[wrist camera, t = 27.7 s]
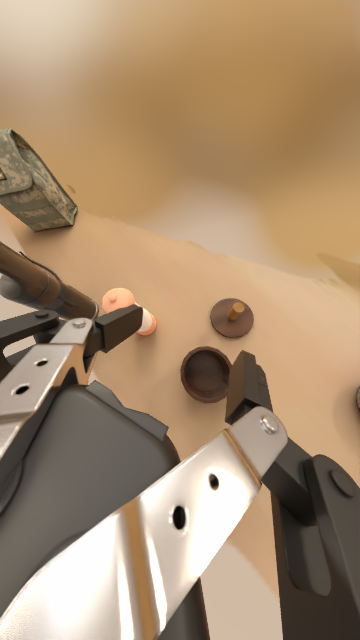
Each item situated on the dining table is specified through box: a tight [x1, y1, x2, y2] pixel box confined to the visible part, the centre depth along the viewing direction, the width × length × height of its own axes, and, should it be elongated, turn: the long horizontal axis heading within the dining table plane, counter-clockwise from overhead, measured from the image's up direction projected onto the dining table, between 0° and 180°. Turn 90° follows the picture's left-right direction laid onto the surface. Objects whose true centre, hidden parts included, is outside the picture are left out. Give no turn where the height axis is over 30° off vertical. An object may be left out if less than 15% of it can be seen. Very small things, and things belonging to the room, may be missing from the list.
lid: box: [211, 298, 254, 337], centre depth 38 cm, size 12×12×8 cm
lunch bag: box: [0, 128, 78, 232], centre depth 55 cm, size 22×16×27 cm
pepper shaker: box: [102, 288, 157, 335], centre depth 35 cm, size 7×7×19 cm
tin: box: [181, 346, 232, 403], centre depth 33 cm, size 12×12×8 cm
